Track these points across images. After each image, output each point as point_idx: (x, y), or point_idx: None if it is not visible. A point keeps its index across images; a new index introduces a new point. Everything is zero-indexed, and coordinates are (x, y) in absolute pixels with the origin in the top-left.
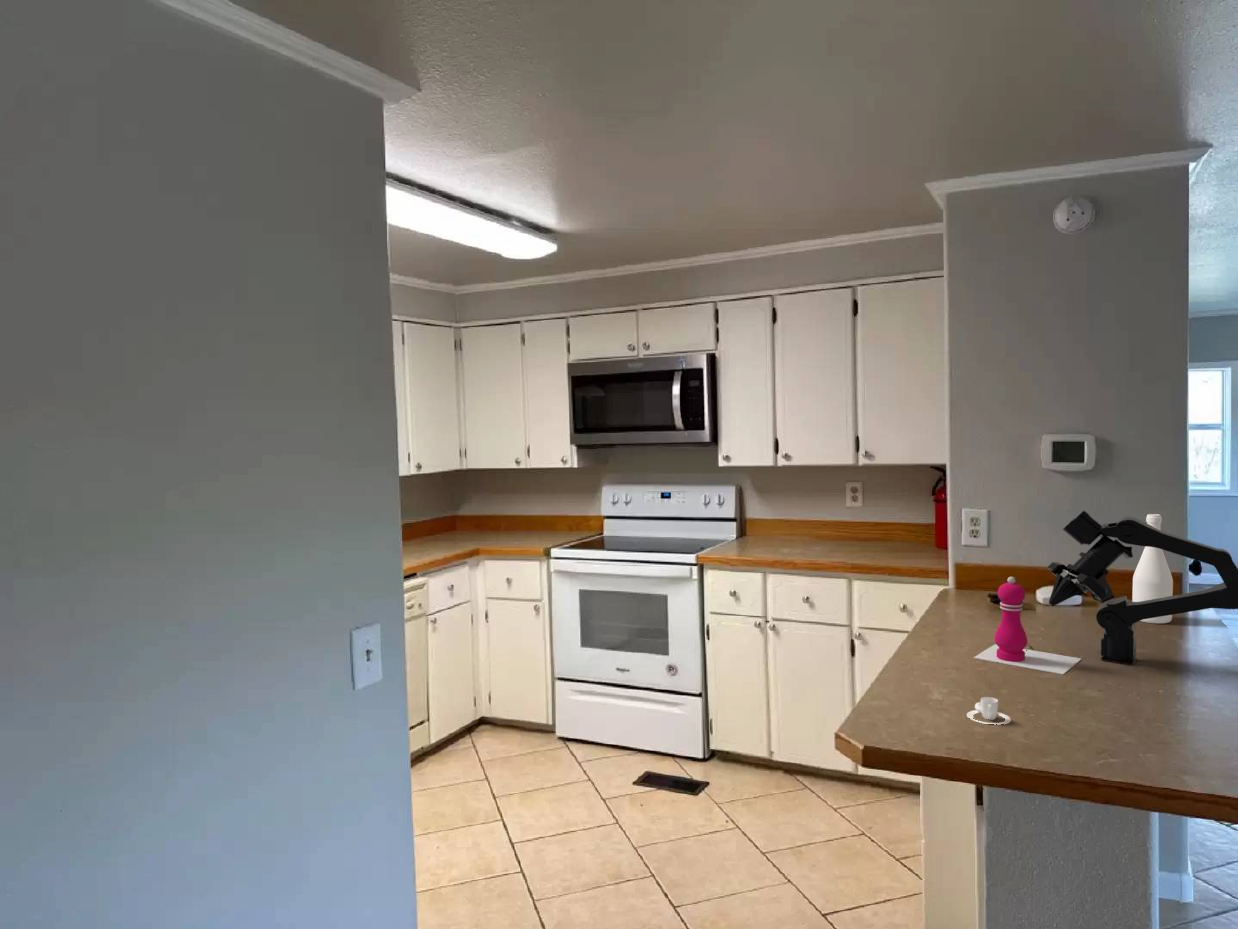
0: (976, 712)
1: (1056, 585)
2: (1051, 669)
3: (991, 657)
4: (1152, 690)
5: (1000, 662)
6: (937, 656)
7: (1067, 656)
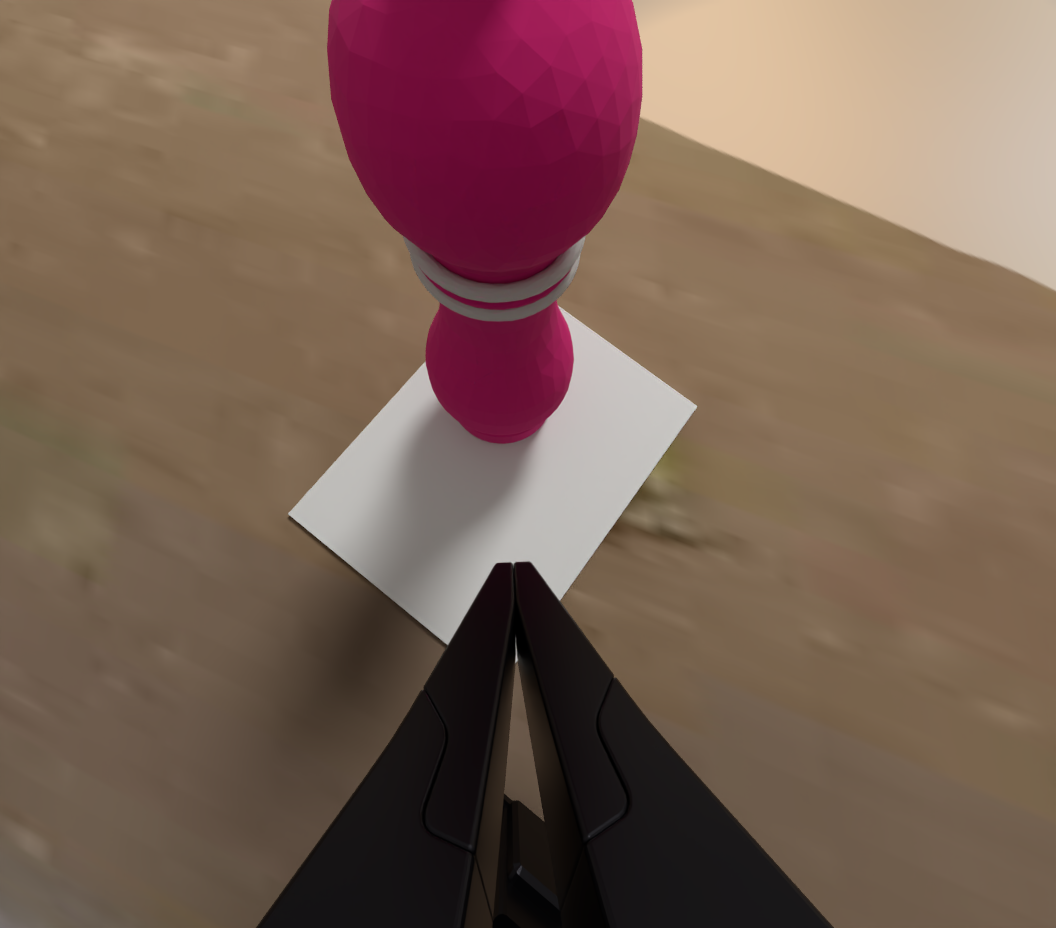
0: None
1: (573, 763)
2: (347, 491)
3: None
4: (44, 806)
5: None
6: None
7: None
